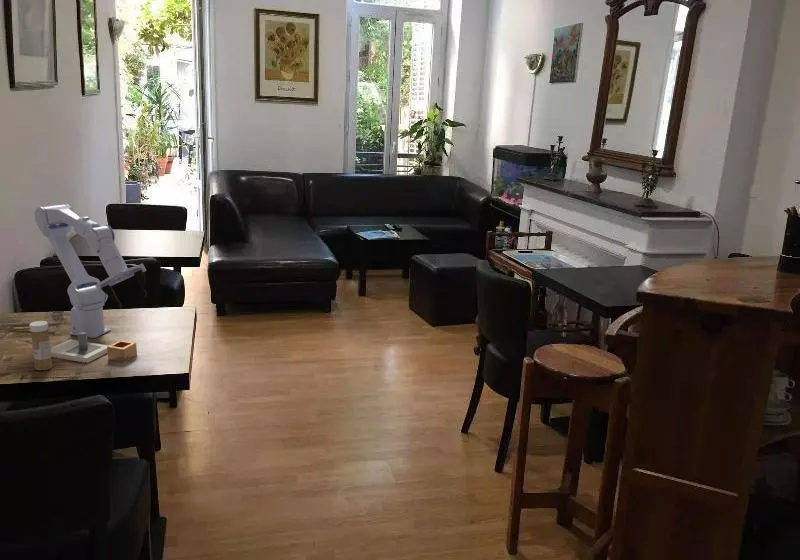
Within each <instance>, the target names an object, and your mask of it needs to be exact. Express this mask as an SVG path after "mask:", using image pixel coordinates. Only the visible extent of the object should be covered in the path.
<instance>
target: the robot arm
mask: <svg viewBox="0 0 800 560" xmlns="http://www.w3.org/2000/svg"><path fill="white" fill-rule="evenodd" d="M34 220H35V221H34V222H35V223H36V226H37V227H38V230H40V233H41V234H42V236H43V237H46V238H47V240H48V242H49V244H50V245H51V247H52V248H53V250H54V253H55V254H56V256H57V258H58V260H59V262H60V263H61V265H62V266H63V269H64V270H65V272H66V274H67V276H68V277H69V280H70V281H71V283H70V284H69V285H68V288H67V294H68V297H69V301H70V304H71V305H72V306H73V307H72V308H71V309H70V312H69V318H70V327H71V332H69V335H70V336H71V335H73V336H78V333H80V332H86V333H87V338H90V339H96V338H98V337H99V336H100V337H101V335H103V334H106V333H108V332H110V331H112V329H111V328H108V327H105V318H104V309H103V308H104V307H103V306H105V303H106V302H107V300H108V298H111V299H112V300H113V301H114V303H115V304H116V305H117V307H118V308H119V309H123V306H122V303H121V302H120V300H119V299H118V297H117V294H116V292H115V291H114V288H112V286H114V285H116V284H118V283H120V282H123V281H125V280H127V279H129V278H130V279H131V277H134V278H135V279H136V281H137V283H138V285H139V286H140V290H141V292H142V294H143V296H144V297H145V298H146V297H148V293H147V291H146V284H145V278H146V277H145V274H144V272H147V269H146V267H145V265H144V263H140V264H138V265H135V266H132V267H128V265H127V264H126V262H125V260H124V257H122V254H121V252H120V250H119V248H118V247H117V245H116V243H115V239H116V238H115V231H114V230H113V228H112V227H111V226H110V225H109V224H105V225H100V224H99V223H98V222H95V221H94V220H92V219H90V217H89V216H88V215H87V216H82V217H81V216H79V215H78V214H77V213H75V212H74V209H73V207H72V205H69V204H68V203H63V204H56V205H48V206H38V207H36V208H35V211H34ZM72 228H73V230H74V231H73V232H75V233H76V234H77V235H79V236H80V237H81V238H84V239H86V243H87V245H88V247H90V248H91V249H92V250H93V252H94V254H95V253H96V254H97V255H98V258H99V259H100V261H101V263H102V265H103V268H104V269H105V271H106V273H107V275H108V277H107V278H105V279H104V280H102V281H100V280H99V278H97V277H94V276H91V275H89V274H88V272H87V270H86V269H85V267H84V265H83V263H82V262H81V260H80V258H79V256H78V255H77V252H76V251H75V249H74V247H73V245H72V243H71V242H70V241H69V238H68V236H67V235H68V234H69V233H71V231H72Z"/></svg>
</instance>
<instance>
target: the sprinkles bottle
mask: <svg viewBox="0 0 800 560" xmlns="http://www.w3.org/2000/svg"><path fill="white" fill-rule="evenodd" d="M28 325H29V331H30V334H31V345H32V354H33V359H34V360H33V361H34V369H35V370H37V371H41V370H43V371H47V370H50V369H51V368H53V366H54V365H53V360H52V357H51V348H52V347H51V341H50V336H49V335H50V334H49V322H48V321H46V320H37V321H32V322H31V323H29V324H28Z"/></svg>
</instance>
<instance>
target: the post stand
mask: <svg viewBox="0 0 800 560" xmlns="http://www.w3.org/2000/svg"><path fill="white" fill-rule="evenodd" d="M107 346H109V345H107V344H101V343H95V342H88V337H87V333H86V332H80V333H78V335H77V340H76V339H71V338H70V339H68V340H66V341H63V342H61V343H59V344H57V345H54V346H52V347H50V348H51V358H56V357H57V359H62V360H69V361H74V362H78V363H85V362H86V364H89V363H90V362H92V361H94V360H96V359H98V358H100V357H102V356H104V355H106V354H108V352H107Z"/></svg>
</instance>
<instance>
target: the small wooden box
mask: <svg viewBox="0 0 800 560" xmlns="http://www.w3.org/2000/svg"><path fill="white" fill-rule="evenodd" d="M137 349H138V348H137V342H133V341H129V340H128V341H127V340H123V339H121V340H120V339H119V340H117V341H116V342H114V343H112V344H110V345H108V346H107V352H108V353H107V360H108V359H109V361H114V362H120V363H121V362H122V363H126V362H127V361H129V360H131V359H133V358H135V357H137V356H138V351H137Z"/></svg>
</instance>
